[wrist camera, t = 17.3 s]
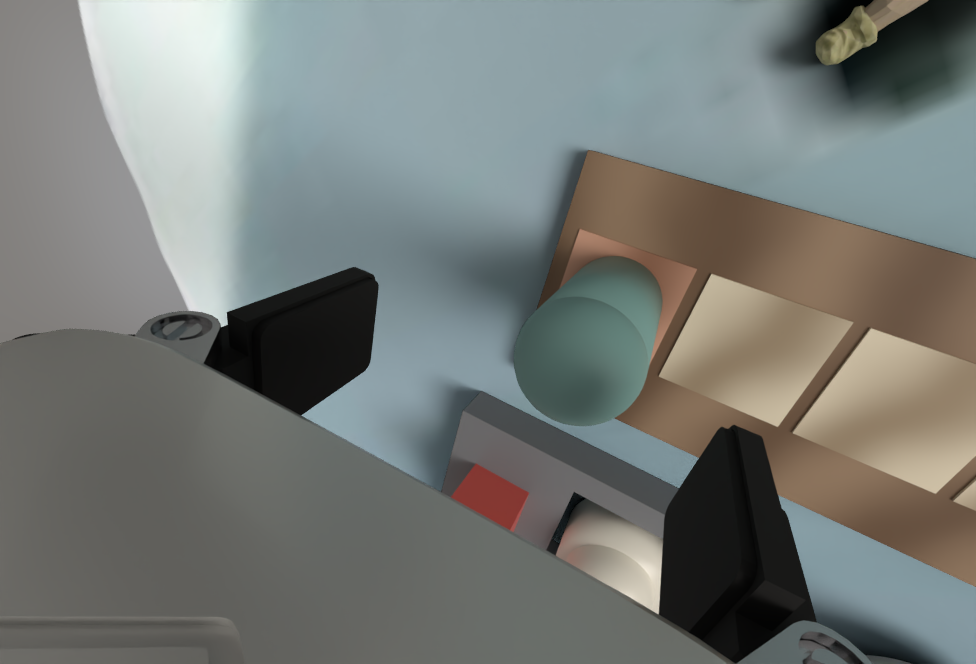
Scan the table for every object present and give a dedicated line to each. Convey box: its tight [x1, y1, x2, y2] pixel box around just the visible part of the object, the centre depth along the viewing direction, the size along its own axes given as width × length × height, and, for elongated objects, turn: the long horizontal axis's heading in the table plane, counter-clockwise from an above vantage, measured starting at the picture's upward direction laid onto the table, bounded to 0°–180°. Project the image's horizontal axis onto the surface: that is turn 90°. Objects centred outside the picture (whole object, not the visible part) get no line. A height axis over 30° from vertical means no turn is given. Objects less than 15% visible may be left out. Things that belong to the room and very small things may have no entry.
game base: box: [441, 391, 679, 556], centre depth 24 cm, size 16×10×6 cm, turn 75°
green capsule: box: [514, 256, 663, 426], centre depth 16 cm, size 4×4×9 cm
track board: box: [537, 150, 976, 587], centre depth 18 cm, size 25×12×1 cm, turn 75°
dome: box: [556, 499, 663, 614], centre depth 23 cm, size 6×6×5 cm
